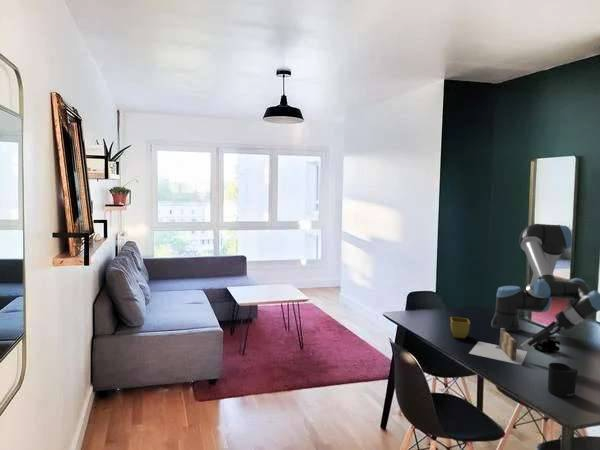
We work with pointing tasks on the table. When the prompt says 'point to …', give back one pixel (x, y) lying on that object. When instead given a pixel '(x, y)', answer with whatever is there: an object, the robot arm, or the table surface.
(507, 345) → the gate
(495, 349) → the base
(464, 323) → the flower pot
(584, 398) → the table surface
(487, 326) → the table surface
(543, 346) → the end cap
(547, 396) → the table surface
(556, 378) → the pen holder
